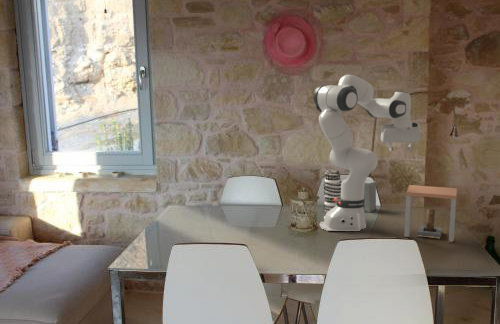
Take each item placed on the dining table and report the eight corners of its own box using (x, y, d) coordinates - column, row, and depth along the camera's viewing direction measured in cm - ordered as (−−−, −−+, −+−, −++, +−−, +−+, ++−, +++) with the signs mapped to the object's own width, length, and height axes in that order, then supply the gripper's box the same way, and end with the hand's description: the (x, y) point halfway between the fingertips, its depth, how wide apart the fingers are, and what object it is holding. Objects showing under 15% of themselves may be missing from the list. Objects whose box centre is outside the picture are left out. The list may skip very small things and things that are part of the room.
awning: (407, 228, 257) (409, 184, 253) (454, 233, 249) (457, 188, 245) (404, 238, 243) (406, 192, 239) (453, 243, 235) (456, 195, 231)
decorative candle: (342, 220, 272) (343, 172, 267) (324, 220, 272) (324, 172, 267) (339, 215, 280) (340, 168, 276) (322, 215, 281) (322, 168, 276)
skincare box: (370, 212, 285) (370, 183, 282) (357, 210, 289) (358, 182, 286) (376, 209, 291) (377, 180, 288) (364, 207, 295) (365, 179, 293)
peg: (427, 236, 245) (429, 211, 243) (424, 234, 248) (425, 209, 246) (435, 235, 246) (436, 210, 243) (431, 233, 249) (432, 208, 247)
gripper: (383, 124, 267) (382, 152, 269) (422, 123, 270) (421, 150, 272) (379, 123, 273) (378, 150, 275) (417, 122, 276) (415, 149, 278)
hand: (400, 150), depth 274 cm, fingers open, 8 cm apart
